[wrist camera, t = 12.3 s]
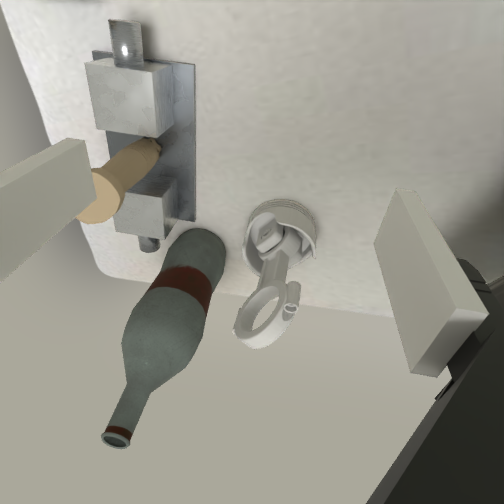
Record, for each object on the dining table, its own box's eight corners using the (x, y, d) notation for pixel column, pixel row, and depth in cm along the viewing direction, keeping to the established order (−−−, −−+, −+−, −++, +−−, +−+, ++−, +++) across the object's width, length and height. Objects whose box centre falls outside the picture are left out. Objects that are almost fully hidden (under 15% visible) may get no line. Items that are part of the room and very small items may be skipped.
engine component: (329, 232, 48) (284, 185, 44) (340, 346, 31) (271, 285, 28) (275, 268, 53) (231, 228, 50) (260, 380, 37) (194, 333, 33)
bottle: (169, 223, 51) (47, 410, 27) (226, 225, 49) (150, 423, 26) (180, 269, 56) (86, 457, 32) (231, 272, 55) (172, 470, 31)
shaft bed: (194, 27, 35) (174, 30, 30) (195, 238, 52) (183, 263, 46) (88, 13, 35) (50, 13, 30) (123, 226, 52) (103, 250, 47)
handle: (179, 150, 43) (130, 203, 31) (147, 174, 45) (90, 231, 34) (154, 118, 41) (90, 162, 29) (122, 146, 43) (51, 196, 31)
